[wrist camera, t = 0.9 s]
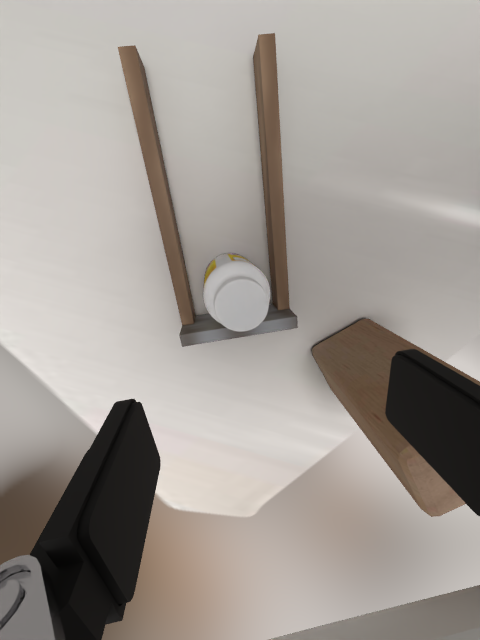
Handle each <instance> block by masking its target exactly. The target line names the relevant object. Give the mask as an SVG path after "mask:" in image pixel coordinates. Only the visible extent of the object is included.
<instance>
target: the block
mask: <svg viewBox="0 0 480 640" xmlns="http://www.w3.org/2000/svg"><path fill="white" fill-rule="evenodd" d="M408 349H416V350H418V351H420V352H422V353H424V354H425V355H427V356H429V357H431V358H432V359H434V360H436V361H438V362H439V363H441V364H443V365H445V366H446V367H448V368H450V369H451V370H453V371H455V372H457V373H458V374H460V375H462V376H464V377H465V378H467V379H469V380H471V381H472V382H474V383H476V384H478V385H479V386H480V382H479V381H477V380H476V379H474V378H472V377H470V376H469V375H467V374H465V373H463V372H461V371H460V370H458V369H456V368H455V367H453V366H451V365H449V364H447V363H446V362H444V361H442V360H440V359H439V358H437V357H435V356H433V355H432V354H430V353H428V352H426V351H424V350H423V349H421V348H419V347H417V346H416V345H414V344H412V343H410V342H409V341H407V340H405V339H403V338H401V337H400V336H398V335H396V334H394V333H393V332H391V331H389V330H387V329H386V328H384V327H382V326H380V325H378V324H377V323H375V322H373V321H371V320H370V319H362V320H360V321H358V322H356V323H355V324H353V325H351V326H349V327H348V328H346V329H344V330H342V331H340V332H339V333H337V334H335V335H333V336H332V337H330V338H328V339H326V340H325V341H323V342H321V343H319V344H317V345H316V346H314V347H313V348H312V352H313V356H314V358H315V360H316V362H317V364H318V366H319V368H320V369H321V371H322V373H323V375H324V377H325V379H326V381H327V382H328V384H329V386H330V388H331V390H332V391H333V393H334V394H335V395H336V397H337V398H338V399H339V401H340V402H341V403H342V405H343V406H344V407H345V409H346V410H347V411H348V413H349V414H350V415H351V417H352V418H353V419H354V421H355V422H356V423H357V425H358V426H359V427H360V429H361V430H362V431H363V433H364V434H365V435H366V436H367V438H368V439H369V440H370V442H371V443H372V445H373V446H374V447H375V448H376V450H377V451H378V453H379V454H380V455H381V456H382V458H383V459H384V460H385V462H386V463H387V464H388V466H389V467H390V468H391V470H392V471H393V472H394V474H395V475H396V476H397V478H398V479H399V480H400V482H401V483H402V484H403V486H404V487H405V488H406V490H407V491H408V492H409V493H410V495H411V496H412V498H413V499H414V500H415V502H416V503H417V504H418V506H419V507H420V508H421V509H422V510H423V511H424V512H426V513H427V514H429V515H430V516H431V517H433V516H441V515H443V514H445V513H447V512H449V511H451V510H454V509H456V508H458V507H460V506H462V505H464V504H466V503H465V502H464V501H463V500H462V499H461V498H460V497H459V496H458V494H457V493H456V492H455V491H454V490H453V489H452V488H451V487H450V486H449V485H448V484H447V483H446V482H445V481H444V480H443V479H442V478H441V476H440V475H439V474H438V473H437V472H436V471H435V470H434V469H433V468H432V467H431V466H430V465H429V464H428V463H427V462H426V461H425V459H424V458H423V457H422V456H421V455H420V454H419V453H418V452H417V451H416V450H415V449H414V448H413V447H412V446H411V445H410V444H409V442H408V441H407V440H406V439H405V438H404V437H403V436H402V435H401V434H400V433H399V432H398V431H397V430H396V429H395V428H394V427H393V425H392V424H391V423H390V422H389V421H388V419H387V417H386V414H385V409H386V401H387V393H388V385H389V376H390V368H391V360H392V357H393V356H395V353H396V352H398V351H402V350H408Z"/></svg>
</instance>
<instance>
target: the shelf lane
mask: <svg viewBox="0 0 480 640" xmlns="http://www.w3.org/2000/svg"><path fill="white" fill-rule="evenodd" d="M118 50H119V55H120V59H121V63H122V67H123V72H124V76H125V80H126V85H127V89H128V93H129V98H130V102H131V106H132V111H133V115H134V119H135V123H136V128H137V132H138V136H139V141H140V145H141V149H142V154H143V158H144V162H145V167H146V171H147V175H148V180H149V184H150V188H151V192H152V197H153V201H154V205H155V210H156V214H157V218H158V223H159V227H160V231H161V236H162V240H163V244H164V248H165V253H166V257H167V261H168V266H169V270H170V274H171V279H172V283H173V287H174V292H175V296H176V300H177V305H178V309H179V313H180V317H181V322H182V328H181V332H180V339H181V344H182V347H183V346H189V345H196V344H202V343H208V342H214V341H220V340H226V339H232V338H238V337H245V336H251V335H257V334H263V333H269V332H275V331H281V330H287V329H294V328H298V326H297V316H296V315H295V314H294V313H293V312H292V311H291V310H290V309H289V291H288V272H287V253H286V234H285V215H284V196H283V177H282V158H281V139H280V120H279V101H278V82H277V63H276V44H275V33H273V34H261V35H258V40H257V44H256V48H255V52H254V56H253V60H254V73H255V86H256V98H257V111H258V124H259V136H260V149H261V162H262V174H263V187H264V199H265V212H266V225H267V237H268V250H269V263H270V275H271V288H272V301H273V304H269V308H268V312H267V315H266V317H265V319H264V320H263V321H262V322H261V323H260V324H259V325H258V326H257V327H255V328H253V329H251V330H248V331H243V332H238V331H233V330H230V329H228V328H226V327H225V326H223V325H222V324H221V323H219V322H217V321H216V320H215V319H214V318H213V317H212V316H211V315H210V314H204V315H198V316H195V311H194V306H193V301H192V296H191V291H190V287H189V282H188V277H187V272H186V267H185V262H184V257H183V253H182V248H181V243H180V238H179V233H178V228H177V224H176V219H175V214H174V209H173V204H172V199H171V195H170V190H169V185H168V180H167V175H166V170H165V166H164V161H163V156H162V151H161V146H160V141H159V137H158V132H157V127H156V122H155V117H154V112H153V108H152V103H151V98H150V93H149V88H148V83H147V79H146V74H145V69H144V66H143V63H142V61H141V58H140V56H139V54H138V51H137V49H136V46H124V47H118Z"/></svg>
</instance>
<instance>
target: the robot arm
mask: <svg viewBox="0 0 480 640" xmlns="http://www.w3.org/2000/svg"><path fill="white" fill-rule="evenodd" d="M385 414H386V417H387V419H388V421H389V422H390V423H391V424H392V425H393V427H394V428H395V429H396V430H397V431H398V432H399V433H400V434H401V435H402V436H403V437H404V438H405V439H406V440H407V441H408V442H409V444H410V445H411V446H412V447H413V448H414V449H415V450H416V451H417V452H418V453H419V454H420V455H421V456H422V457H423V458H424V459H425V461H426V462H427V463H428V464H429V465H430V466H431V467H432V468H433V469H434V470H435V471H436V472H437V473H438V474H439V475H440V476H441V478H442V479H443V480H444V481H445V482H446V483H447V484H448V485H449V486H450V487H451V488H452V489H453V490H454V491H455V492H456V493H457V494H458V496H459V497H460V498H461V499H462V500H463V501H464V502H465V503H466V504H467V505H468V506H469V507H470V508H471V509H472V510H473V511H474V512H475V513H476V514H477V515H478V516H480V386H479V385H478V384H476V383H474V382H472V381H471V380H469V379H467V378H465V377H464V376H462V375H460V374H458V373H457V372H455V371H453V370H451V369H450V368H448V367H446V366H445V365H443V364H441V363H439V362H438V361H436V360H434V359H432V358H431V357H429V356H427V355H425V354H424V353H422V352H420V351H418V350H416V349H408V350H402V351H398V352H396V353H395V356H393V357H392V360H391V368H390V376H389V385H388V393H387V401H386V409H385ZM159 471H160V456H159V453H158V450H157V447H156V444H155V441H154V438H153V435H152V432H151V430H150V427H149V424H148V421H147V418H146V415H145V412H144V409H143V406H142V404H141V403H140V402H136V400H135V399H129V400H124V401H118V402H116V403H115V404H114V405H113V407H112V409H111V411H110V413H109V415H108V416H107V418H106V420H105V422H104V424H103V426H102V427H101V429H100V431H99V433H98V435H97V436H96V438H95V440H94V442H93V444H92V446H91V448H90V449H89V450H88V451H87V453H86V454H85V456H84V457H83V459H82V461H81V463H80V465H79V467H78V468H77V470H76V472H75V474H74V476H73V477H72V479H71V481H70V483H69V485H68V486H67V488H66V490H65V492H64V494H63V496H62V497H61V500H60V501H59V503H58V505H57V506H56V508H55V510H54V512H53V514H52V515H51V517H50V519H49V521H48V523H47V524H46V526H45V528H44V530H43V532H42V533H41V535H40V537H39V539H38V541H37V543H36V544H35V546H34V548H33V550H32V552H31V553H30V555H26V556H18V557H16V558H14V559H11V560H9V561H7V562H5V563H3V564H2V565H0V640H101V639H102V635H103V631H104V628H105V624H109V623H113V622H117V621H122V619H123V615H124V610H125V606H126V603H127V602H130V601H131V599H132V598H133V595H134V591H135V587H136V582H137V577H138V573H139V568H140V562H141V558H142V552H143V548H144V543H145V538H146V533H147V529H148V524H149V519H150V514H151V509H152V504H153V500H154V495H155V490H156V485H157V480H158V475H159ZM269 640H480V585H479V586H474V587H470V588H466V589H462V590H458V591H454V592H451V593H447V594H443V595H439V596H435V597H431V598H428V599H423V600H420V601H415V602H412V603H407V604H404V605H400V606H396V607H392V608H388V609H384V610H380V611H376V612H372V613H369V614H365V615H361V616H357V617H354V618H349V619H345V620H342V621H338V622H334V623H330V624H326V625H322V626H318V627H314V628H311V629H307V630H303V631H299V632H295V633H292V634H288V635H284V636H280V637H276V638H273V639H269Z"/></svg>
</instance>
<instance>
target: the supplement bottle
mask: <svg viewBox="0 0 480 640" xmlns="http://www.w3.org/2000/svg"><path fill="white" fill-rule="evenodd" d="M203 299H204V304H205V306H206V309H207V311H208V312H209V314H210V315H211V316H212V317H213V318H214V319H215V320H216V321H217V322H219V323H221V324H222V325H223V326H225V327H226V328H228V329H230V330H233V331H238V332H243V331H248V330H251V329H253V328H255V327H257V326H258V325H259V324H260V323H261V322H262V321H263V320H264V319H265V317H266V315H267V312H268V308H269V301H270V286H269V283H268V280H267V278H266V277H265V275H264V274H263V272H262V271H261V270H260V269H258V268H257V267H256V266H255V265H253V264H252V263H251V262H250V261H248V260H247V259H246V258H244V257H242V256H240V255H238V254H233V253H227V254H222V255H220V256H218V257H216V258H215V259H213V260H212V261H211V263H210V264H209V265H208V267H207V269H206V273H205V279H204V290H203Z"/></svg>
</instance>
